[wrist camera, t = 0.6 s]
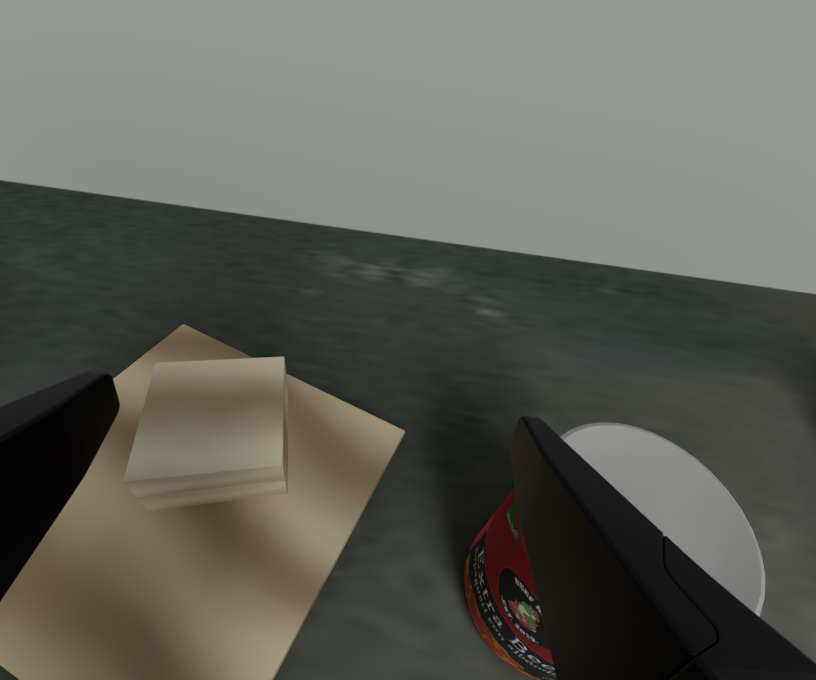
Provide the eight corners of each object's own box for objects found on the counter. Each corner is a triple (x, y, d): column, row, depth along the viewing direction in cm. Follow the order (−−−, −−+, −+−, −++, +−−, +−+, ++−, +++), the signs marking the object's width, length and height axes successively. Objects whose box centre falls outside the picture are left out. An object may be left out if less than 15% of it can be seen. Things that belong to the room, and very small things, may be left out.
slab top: (285, 480, 22) (282, 465, 21) (136, 497, 20) (122, 481, 19) (286, 374, 26) (284, 356, 25) (164, 381, 25) (155, 362, 24)
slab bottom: (287, 494, 23) (285, 480, 22) (147, 510, 22) (136, 497, 20) (288, 391, 28) (286, 374, 26) (172, 398, 26) (164, 381, 25)
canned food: (431, 566, 22) (489, 479, 14) (533, 492, 26) (625, 390, 18) (530, 728, 18) (686, 735, 10) (634, 615, 22) (808, 554, 14)
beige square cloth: (202, 812, 16) (198, 814, 15) (-118, 572, 19) (-128, 569, 18) (403, 435, 27) (404, 430, 27) (185, 329, 31) (183, 323, 30)
